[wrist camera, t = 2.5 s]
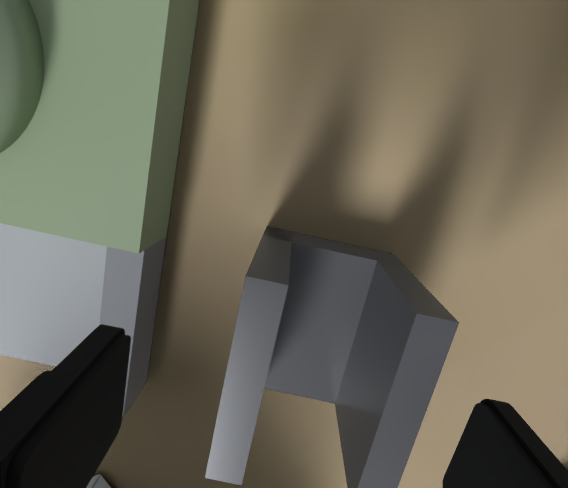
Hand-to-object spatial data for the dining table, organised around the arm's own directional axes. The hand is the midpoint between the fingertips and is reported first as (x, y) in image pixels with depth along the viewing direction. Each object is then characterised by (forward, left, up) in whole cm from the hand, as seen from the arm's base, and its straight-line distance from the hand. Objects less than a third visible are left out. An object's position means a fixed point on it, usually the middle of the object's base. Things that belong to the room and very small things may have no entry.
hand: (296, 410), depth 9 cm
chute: (-1, +1, -8) cm, 8 cm away
